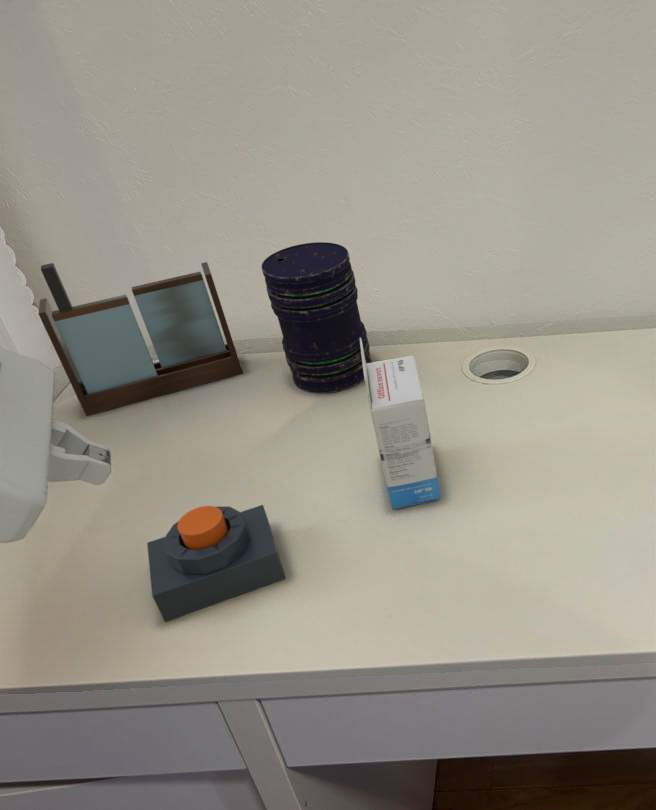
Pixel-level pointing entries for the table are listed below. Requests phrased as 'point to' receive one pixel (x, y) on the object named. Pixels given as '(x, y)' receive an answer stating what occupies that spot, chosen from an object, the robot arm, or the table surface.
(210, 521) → the release button
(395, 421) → the ink box
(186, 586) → the button block
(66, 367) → the window frame
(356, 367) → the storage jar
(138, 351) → the window pane
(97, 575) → the table surface
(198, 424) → the table surface
